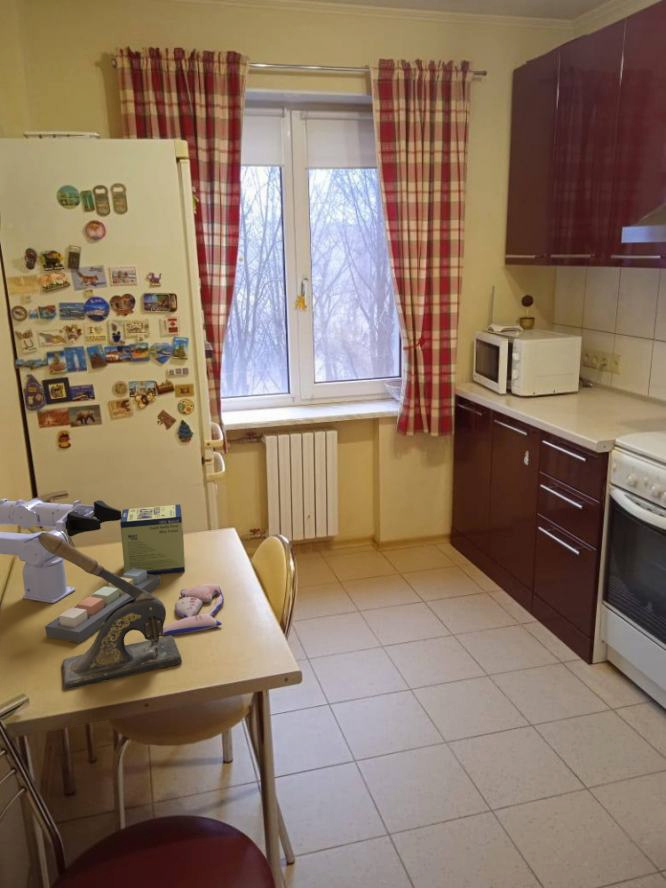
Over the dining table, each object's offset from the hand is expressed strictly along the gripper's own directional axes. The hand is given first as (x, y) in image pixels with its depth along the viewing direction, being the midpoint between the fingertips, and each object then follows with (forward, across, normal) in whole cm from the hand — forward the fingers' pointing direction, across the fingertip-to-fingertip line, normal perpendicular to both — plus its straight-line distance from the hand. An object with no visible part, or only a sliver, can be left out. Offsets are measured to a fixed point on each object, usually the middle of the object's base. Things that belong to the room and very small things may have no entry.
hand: (110, 519), depth 160 cm
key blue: (-2, +10, +19) cm, 22 cm away
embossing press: (+16, -21, +23) cm, 35 cm away
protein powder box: (-4, +23, +20) cm, 31 cm away
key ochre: (-2, +4, +20) cm, 20 cm away
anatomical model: (+18, +3, +22) cm, 29 cm away
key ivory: (-2, -13, +20) cm, 24 cm away
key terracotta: (-2, -7, +20) cm, 21 cm away
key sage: (-2, -1, +20) cm, 20 cm away
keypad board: (-2, -1, +21) cm, 21 cm away
